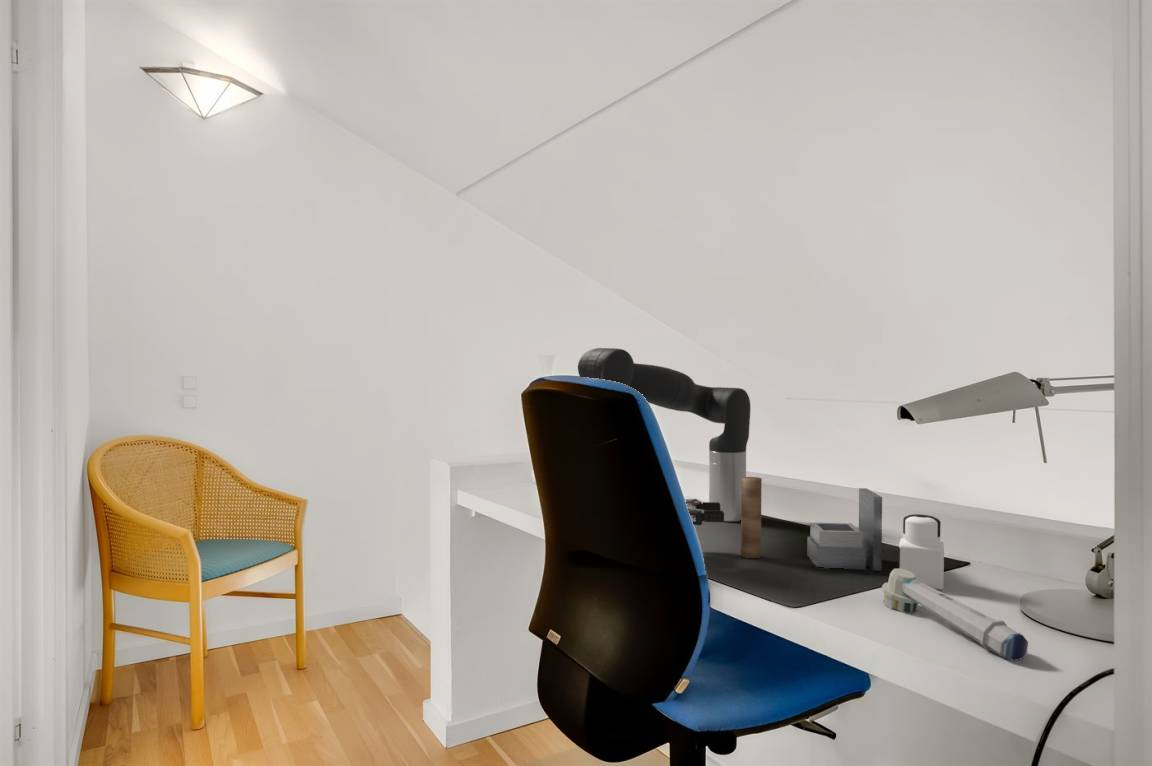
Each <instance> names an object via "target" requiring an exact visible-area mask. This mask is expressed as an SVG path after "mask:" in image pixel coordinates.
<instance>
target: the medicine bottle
mask: <svg viewBox="0 0 1152 766" xmlns="http://www.w3.org/2000/svg"><path fill="white" fill-rule="evenodd" d="M902 520H903V521H902V525H903V526H902V529H903V532H902V537H900V538H899V539H900V540H899V546H898V568H899V569H905V570H908V571H910V572H912V573H914V575H915V577H916V579H917V581H919V582H921V583H923V584H925V585H927V586H929V587H931V588H933V589H935V590H937V591H943V590H944V587H945V586H944V585H945V583H944V580H945V579H944V578H945V576H944V572H945V571H944V570H945V569H944V567H945V546H944V541H942V540H941V526H942V525H941V524H942V523H941V521H940V519H939V518H937V517H935V516H932V515H927V514H920V513H919V514H916V513H915V514H909V515H905V516H904V517H903V519H902Z"/></svg>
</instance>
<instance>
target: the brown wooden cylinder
mask: <svg viewBox="0 0 1152 766" xmlns="http://www.w3.org/2000/svg"><path fill="white" fill-rule="evenodd" d="M762 479H763V478H761V477H759V476H746V477H742V478H741V521H740V557H741V556H742V557H741V558H743V557H746V558H745V559H747V558H759V559H761V558H762ZM760 557H761V558H760Z"/></svg>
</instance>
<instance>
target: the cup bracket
mask: <svg viewBox="0 0 1152 766" xmlns="http://www.w3.org/2000/svg"><path fill="white" fill-rule="evenodd" d="M882 526H883V497H882V496H881V495H879V494H877V493H876V492H874V491H872V490H870V489H868V488H864V487H861V488H858V527H857V526H856V525H854V524H853V523H851V522H850V523H847V522H810V534H809V535H810V536H806V537H807V538H806V539H807V546H806V547H807V548H806V549H807V550H806V551H807V553H806V555H807V558H808V557H809V558H810V559H811V560H812V561H811V560H810V559H809V560H810V561H811V562H812V563H814V564H815V565H816V566H817V567H824V568H823V569H829V568H844V569H843V570H866V567H869V568H870V569H871V570H872V571H875V570H876V572H877V571H879V572H881V571H882V561H883V560H882V557H883V556H882V554H883V553H882V552H883V551H882V549H883V548H882V545H883V541H882V540H883V539H882V537H883V527H882ZM814 564H813V565H814ZM815 565H814V566H815ZM816 566H815V567H816ZM817 567H816V568H817Z"/></svg>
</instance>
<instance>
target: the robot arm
mask: <svg viewBox="0 0 1152 766" xmlns="http://www.w3.org/2000/svg"><path fill="white" fill-rule="evenodd" d="M577 371H578V372H577V373H578V375H579V377H589V378H599V379H605V380H611V381H616V382H620V383H623V384H626V385H628V386H630V387H632V388H634V389H636V390H637V391H639V392H640V393H641V394H643V396H644V397H645V398H646V400H647V401H648V402H647V403H648V404H651V405H655V406H656V407H657V406H658V407H661V408H665V409H668V410H673V411H677V412H685V413H686V412H687V413H691V414H694V415H696V416H698V417H700V418H702V419H705V420H706V421H709V422H712V423H715V424H721V425H722V424H724V427H723V431H722V433H721V434H720V435H718V436H715V437H712V438H711V439H710V440H709V443H708V444H709V445H708V447H709V448H708V450H709V451H708V452H709V453H708V454H709V455H708V458H709V460H708V462H709V463H708V464H709V465H708V471H709V473H708V474H709V475H708V486H709V487H708V501H701V500H699V499H697V498H692V499H691V498H690V499H689V498H688V499H686V498H684V499H685V500H686V504H687V507H688V510H689V513H690V516H691V518H692V521H693V524H694V525H693V526H702V525H703V524H705V522H706V523H723V522H741V521H740V520H741V478H742V477H747V445H748V441H749V437H750V425H751V423H750V422H751V400H750V399H751V398H750V396H749V394H748V392H747V391H746V390H745V389H743V388H739V387H722V386H721V387H719V386H717V387H715V386H714V387H713V386H712V387H711V386H706V385H699V384H698V383H697V384H696V383H695V382H694V379H692V378H691V377H690V376H689V375H687V374H685V373H684V372H682V371H678V370H675V369H672V368H669V367H664V366H659V365H653V364H644V363H635V362H634V360H633V357H632V355H631V354H630V352H628V351H627V350H625V349H623V348H615V347H612V348H609V347H607V348H605V347H604V348H603V347H598V348H597V347H596V348H592V349H590V350H588V351H586V352H585V353H583V354H582V356H581V357H580V359H579V360H578V363H577Z"/></svg>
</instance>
